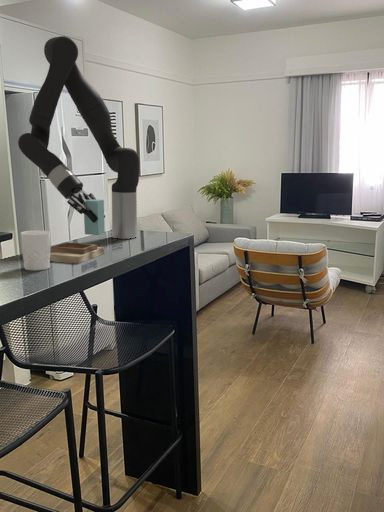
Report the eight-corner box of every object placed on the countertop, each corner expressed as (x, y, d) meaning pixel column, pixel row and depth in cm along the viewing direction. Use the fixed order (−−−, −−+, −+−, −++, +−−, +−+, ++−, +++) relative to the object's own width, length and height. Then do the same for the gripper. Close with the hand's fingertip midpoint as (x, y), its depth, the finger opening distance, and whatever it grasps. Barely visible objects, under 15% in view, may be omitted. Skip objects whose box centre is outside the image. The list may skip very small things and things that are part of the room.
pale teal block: (91, 232, 171) (90, 199, 168) (104, 232, 169) (103, 199, 167) (84, 234, 167) (83, 200, 164) (98, 235, 165) (97, 201, 163)
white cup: (20, 271, 137) (18, 234, 135) (24, 265, 144) (22, 230, 142) (50, 270, 138) (49, 234, 136) (52, 264, 146) (51, 230, 144)
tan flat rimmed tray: (70, 250, 166) (70, 240, 165) (104, 253, 162) (104, 242, 162) (43, 260, 151) (42, 248, 150) (79, 263, 147) (78, 251, 147)
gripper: (60, 174, 159) (96, 214, 158) (83, 172, 173) (116, 209, 172) (46, 191, 162) (82, 230, 161) (70, 187, 175) (102, 224, 174)
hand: (99, 219), depth 166 cm, fingers closed on pale teal block, 4 cm apart
